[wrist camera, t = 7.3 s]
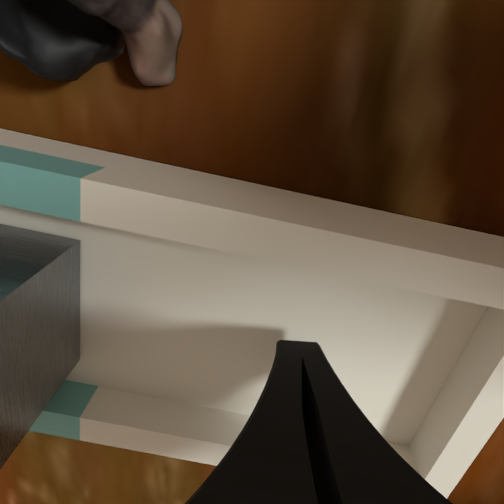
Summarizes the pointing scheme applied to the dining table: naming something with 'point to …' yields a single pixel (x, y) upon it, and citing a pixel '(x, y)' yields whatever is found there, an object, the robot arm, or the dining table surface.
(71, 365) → the rider
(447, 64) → the dining table surface
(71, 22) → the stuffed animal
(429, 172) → the dining table surface
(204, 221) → the white rectangular tray
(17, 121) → the dining table surface
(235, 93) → the dining table surface
